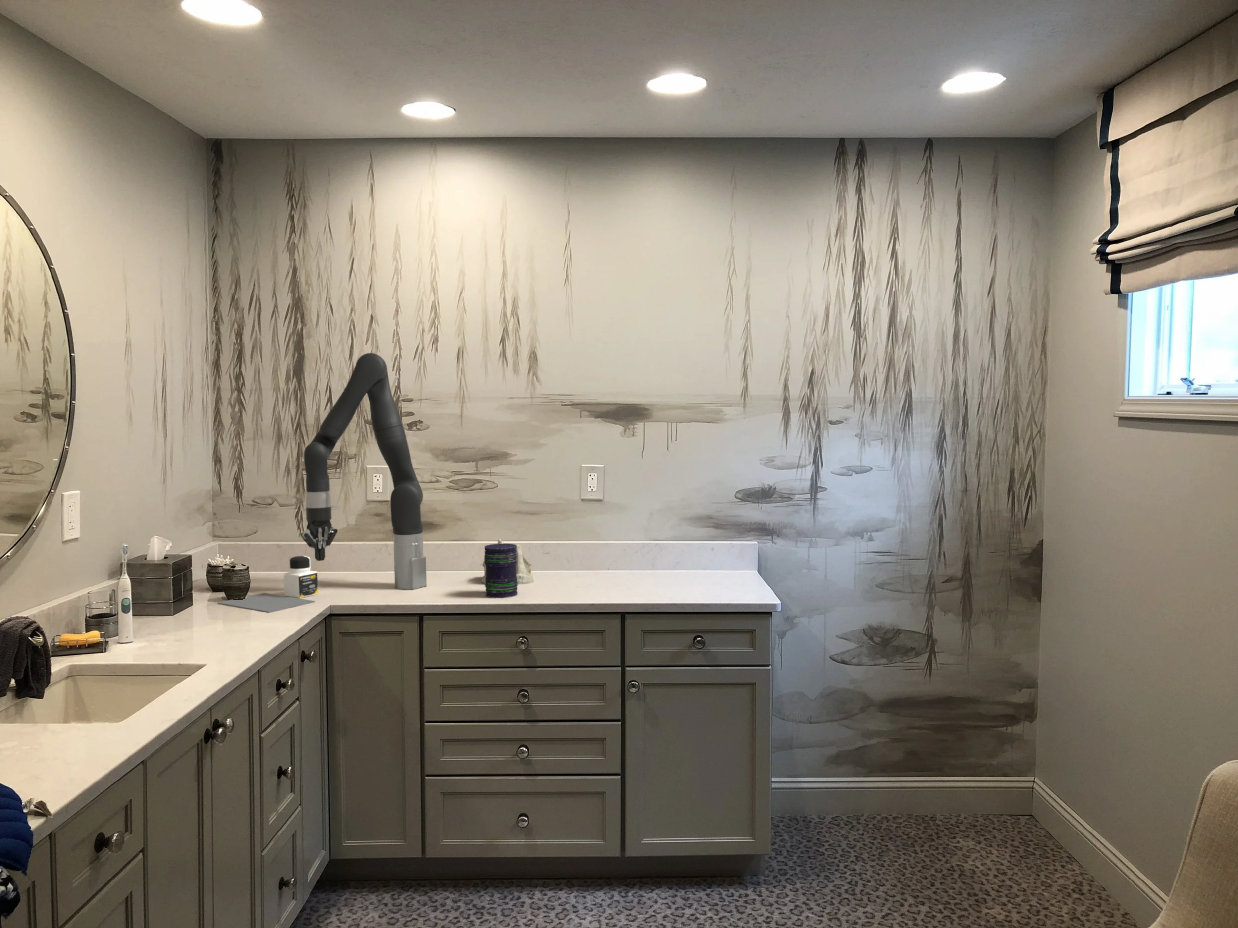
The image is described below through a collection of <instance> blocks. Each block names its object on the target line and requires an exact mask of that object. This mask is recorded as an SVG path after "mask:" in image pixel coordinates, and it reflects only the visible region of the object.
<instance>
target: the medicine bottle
mask: <svg viewBox="0 0 1238 928" xmlns="http://www.w3.org/2000/svg"><path fill="white" fill-rule="evenodd" d="M318 580H319V579H318V571H315V570H312V568H311V557H309V556H307V555H299V556H298V555H297V556H293V557H291V558H290V559H289V571H288V572H285V573H283V586H284V587H283V588H284V589H283V590H284V596H286V597H293V598H299V599H304V598H308V597H311V596H315V595H318V594H319V585H318Z"/></svg>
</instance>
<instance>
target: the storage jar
mask: <svg viewBox="0 0 1238 928" xmlns="http://www.w3.org/2000/svg"><path fill="white" fill-rule="evenodd" d="M516 545H517V544H514V543H504V544H498V543H491V544H486V545H484V558H485V565H486V578H485V582H486V583H484V587H485V597H487V598H491V599H507V598H514V597H517V596H518V586H519V584H518V582H517V576H516V564H517V554H516V553H517V550H516Z"/></svg>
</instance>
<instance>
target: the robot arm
mask: <svg viewBox="0 0 1238 928" xmlns="http://www.w3.org/2000/svg"><path fill="white" fill-rule="evenodd" d="M388 373H389V372H388V366H387V363H386V361H385V360H384V359H383V357H382V356H380V355H378V354H377V353H374V352H367V353H364V354H362V355H361V356H360V357H359V358H357V361H356V364H355V366H354V369H353V371H352V374H351V376H350V378H349V379H348V382H347V384H346V386H345V388H344V389H343V391H342V392H341V394H340V395H339V398H338V399H337V400H336V402H335V403H334V405H333V406H332V408H331V409H330V411H329V412H328V413H327V415H326V416H325V418H324V420H323V422H322V423H321V425H320V427H319V429H318V432H317V433H316V435H315V436H314V438H313V439H312V440H311V442H310V443H309V444H308V445H306V446H305V448H304V450H303V451H304V452H303V460H304V461H303V462H304V470H305V488H306V489H305V491H306V492H305V493H306V494H305V515H306V518H305V519H306V522H307V525H306V529H305V530H304V532H300V537H301V538H302V539H303V541H304V542H305V543H306V545H307V546H308V547H309V548H311V549H313V550H314V558H315V560H316V561H317V562H321V561H322V562H323V561H325V558H326V548H327V547H328V546H329V547H330V546H331V544H332V542H333V540H334V539H335V537H336V535H337V533H338V528H334V527H333V525H332V523H331V520H332V498H331V491H330V489H331V488H330V477H329V476H330V475H329V472H328V460H329V457H330V456H331V454H332V452H333V450H334V448H335V447H336V445H337V443H338V441H339V440H340V439H341V437H342V436H343V434H344V433H345V432H346V430H347V428H349V425H350V423H351V422H352V420H353V418H354V417H355V414H356V413H357V410H358V408H359V406H360V404H361V402H362V401H363V399H364V398H365V396H366V395H367V398H368V401H369V408H370V417H371V424H372V431H373V433H374V436H375V441H376V444H377V447H378V450H379V452H380V453H381V456H382V458H383V460H384V461H385V463H386V465H387V466H388V467H387V468H388V470H389V473H390V476H391V480H392V484H393V490H392V492H391V493H390V500H389V501H390V504H389V505H390V517H391V518H390V520H391V521H390V523H391V527H392V535H393V537H392V539H393V542H392V543H393V571H394V572H393V573H394V575H393V576H394V588H395V589H399V590H416V589H420V588H423V587H427V585H428V584H427V558H426V556H425V555H424V530H423V529H424V526H423V523H422V517H421V516H422V514H421V505H422V503H423V499H424V493H423V489H422V487H421V485H420V483H419V480H418V477H417V475H416V473H415V469H414V466H413V462H412V457H411V453H410V448H409V447H410V446H409V444H408V440H407V439H408V438H407V435H406V432H405V428H404V424H403V421H402V419H401V416H400V412H399V410H398V407H397V405H396V403H395V401H394V400H395V399H394V397H393V395H392V391H391V385H390V380H389V374H388Z"/></svg>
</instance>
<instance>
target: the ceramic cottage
mask: <svg viewBox="0 0 1238 928" xmlns="http://www.w3.org/2000/svg"><path fill="white" fill-rule="evenodd" d="M497 544H505V543H504V542H502V539H501V538H500V539H497ZM515 545H516V550H517V553H516V554H517V564H516V576H517V582H518V585H526V584H531V583H534V582H535V581H534V577H533V575H532V574H531V573H532V568H531V566H532V564H531V563H530V562H529V561H528V560H527V559H526V558H525V556H524V555H523V550H522V546H521V544H515ZM482 567H483V571H484V575H483V576H482V577H481V578H482V579H481V582H482V583H483V584H485V583H486V582H485V578H486V565H485V558H484V559H483V563H482Z"/></svg>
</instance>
